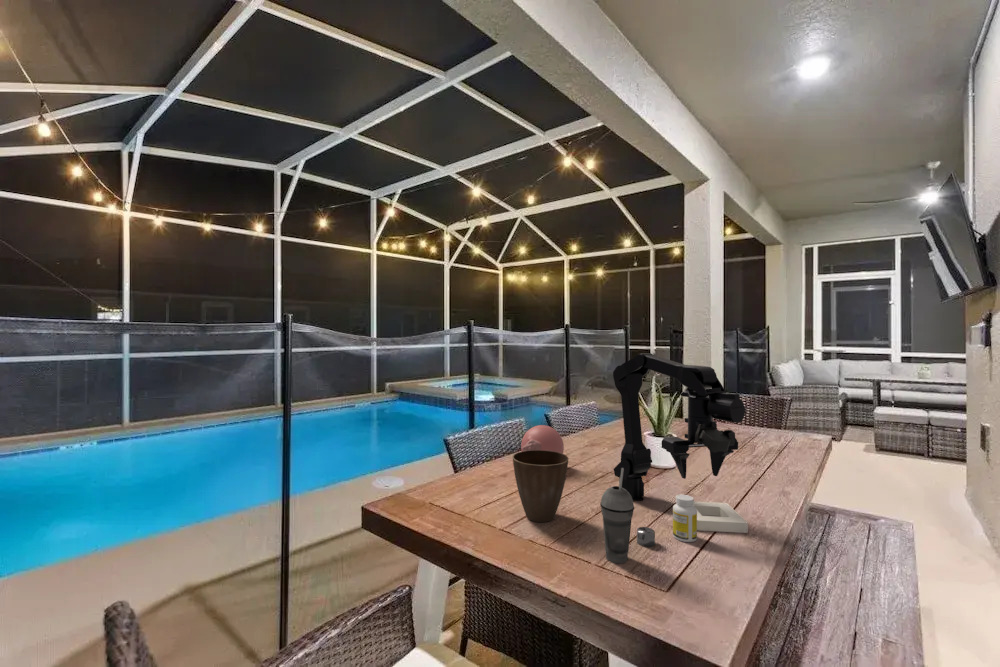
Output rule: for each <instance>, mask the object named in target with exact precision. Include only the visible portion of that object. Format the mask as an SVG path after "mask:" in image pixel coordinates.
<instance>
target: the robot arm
mask: <svg viewBox="0 0 1000 667" xmlns="http://www.w3.org/2000/svg"><path fill="white" fill-rule="evenodd" d="M649 371H653V372H655V373H658V374H662V375H665V376H667V377H670V378H673V379H676V381H678V382H679V383H680V384H681V385H682V386H684V387H686V388H685V389H684V390H683V391H682V392H681V393H680V396H681V397H686V398H687V417H684V423H687V433H684V438H680V437H678V436H666V437H665V436H664V437H663V438H662V440H661V448H662V449H663V450H665V451H666V452H667V453H670V455H671V457H672V459H673V461H674V463H675V465H676V468H677V470H678V472H679V474H680V476H681V478H682V479H684V480H686V478H687V459H688V458H689V456H690V453H688V451H689V450H690V448H707V449H708V451H709V456H710V464H711V471H712V476H714V477H718V475H719V473H720V470H721V468H722V466H723V463H724V460H725V459H726V457H727V456H729V455H730V454H733V453H734V452H735V451H736V450H739V440H738V439H737V438H736V432H734V431H733V430H732V429H726V430H725V429H724V430H719V429H718V426H717V421H716V420H720V421H724V422H730V423H735V424H737V423H738V424H739V423H741V422H742V421H743V419H744V418H745V416H746V415H745V414H746V407H745V404H744V402H743V400H742V399H740V398H741V397H740V394H739V393H735V392H733V393H729V392H727V390H726V389H725V387H724V386H723V385H722V382H720V380H719V378H718V377H717V372H715V369H714V368H712V367H711V366H705V365H696V364H695V365H694V364H693V365H692V364H684V363H681V362H677V361H674V360H672V359H667V358H664V357H661V356H658V355H655V354H653V353H647V352H646V353H645V352H643V353H638V354H637V355H635V357H633V358H631V359H630V360H627V361H625V362H624V363H621V365H617V366H616V367H615V369H614V370H613V372H612V376H613V377H612V378H613V381H614V386H615V388H616V389H617V391H618V392H619V394H620V397H621V408H622V418H623V432H624V445H623V447H622V449H621V452H620V453H621V454H620V462H619V463H617V465H615V466H614V468H613V473H614V476H615V477H617V478H618V481H619V482H618V486H619V485H620V477H621V469H622V468H624V471H623V479H622V488H624V489H626V490H627V491H628V492H629V494H630V495H631V497H632V499H633V501H644V496H645V483H644V481H643V477H646V476H647V475H648V472H649V470H650V469H651V467H652V463H653V459H652V450H651V448H648V447H646V445H645V444H644V443H643V435H642V433H643V432H642V422H641V412H640V411H641V410H640V402H639V401H640V400H639V392H640V390H641V388H642V386H643V377H645V376H647V374H649ZM713 419H715V421H714V420H713Z"/></svg>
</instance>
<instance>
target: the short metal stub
mask: <svg viewBox="0 0 1000 667" xmlns="http://www.w3.org/2000/svg"><path fill="white" fill-rule="evenodd" d="M655 539H656V530H654V529H653V528H651V527H646V526H639V527H637V529H636V544H638V545H639V546H640V547H644V548H653V547H655V544H656V542H655V541H656V540H655Z"/></svg>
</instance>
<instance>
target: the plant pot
mask: <svg viewBox="0 0 1000 667" xmlns="http://www.w3.org/2000/svg"><path fill="white" fill-rule="evenodd" d="M512 462H513V465H512V466H513V469H514V470H513V472H514V478H515V482H516V487H517V491H518V494H519V499H520V502H521V504H522V508H523V511H524V513H525V516H526V518H527V519H528V520H530V521H532V522H536V523H547V522H551V521H553V520H554V519H555V516H556V514H557V511H558V508H559V506H560V502H561V499H562V495H563V491H564V487H565V483H566V478H567V473H568V466H569V456H568V455H566V454H564V453H563V454H562V453H559V452H554V451H546V450H529V451H522V450H521V451H518V452H516V453H513V455H512Z"/></svg>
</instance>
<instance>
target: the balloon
mask: <svg viewBox="0 0 1000 667" xmlns="http://www.w3.org/2000/svg"><path fill="white" fill-rule="evenodd" d="M520 447H521V452H522V451H529V450H546V451H554V452H559V453H562V454H564V450H565V446H564V441H563V438H562V436H561V435H560V432H558V431H557V430H556V429H554V428H553V427H552V426H549V425H546V424H545V425H544V424H540V425H539V424H538V425H535V426H533V427H531V428H530V429H528V430H527V431H526V432H525V433H524V435H523V437H522V439H521V444H520Z"/></svg>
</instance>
